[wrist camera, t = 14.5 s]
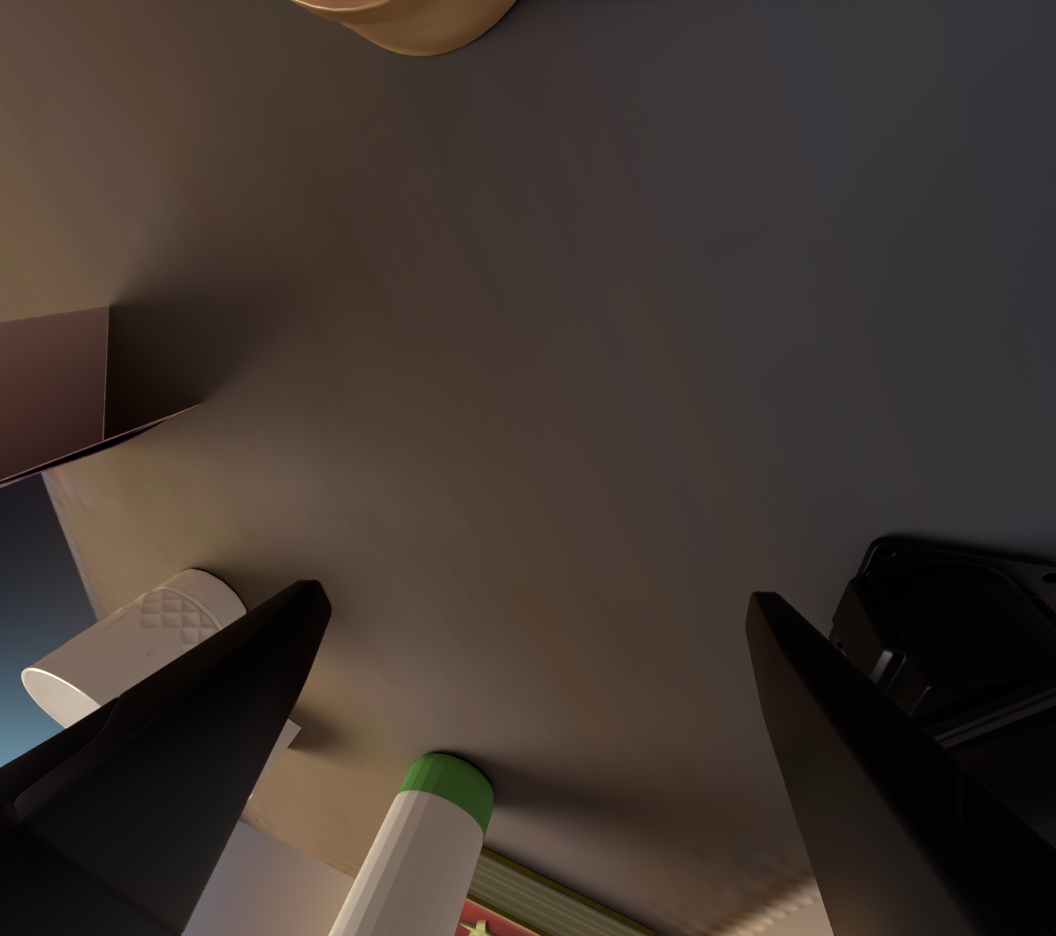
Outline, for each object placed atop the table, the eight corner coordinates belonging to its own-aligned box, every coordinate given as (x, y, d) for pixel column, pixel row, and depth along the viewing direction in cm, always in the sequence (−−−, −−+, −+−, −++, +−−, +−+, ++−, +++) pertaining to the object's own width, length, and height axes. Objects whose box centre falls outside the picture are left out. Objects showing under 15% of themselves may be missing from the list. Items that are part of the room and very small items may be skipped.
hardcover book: (609, 962, 48) (604, 1021, 45) (431, 872, 50) (413, 922, 47) (654, 931, 42) (653, 997, 38) (449, 830, 44) (429, 884, 41)
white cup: (162, 548, 35) (0, 651, 27) (249, 582, 34) (108, 701, 26) (183, 615, 39) (47, 723, 31) (261, 648, 38) (142, 770, 30)
